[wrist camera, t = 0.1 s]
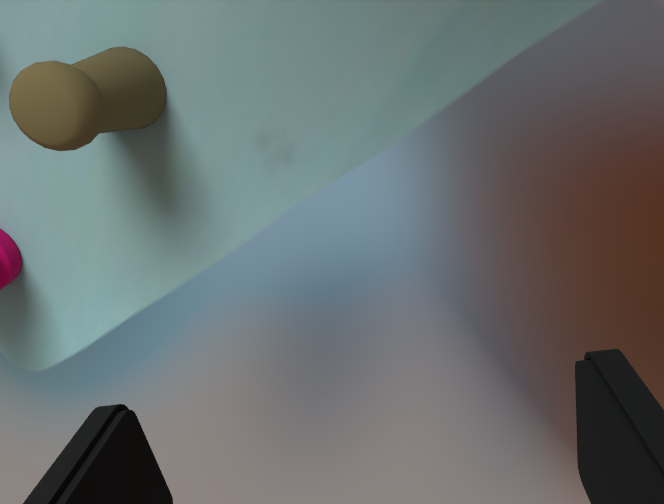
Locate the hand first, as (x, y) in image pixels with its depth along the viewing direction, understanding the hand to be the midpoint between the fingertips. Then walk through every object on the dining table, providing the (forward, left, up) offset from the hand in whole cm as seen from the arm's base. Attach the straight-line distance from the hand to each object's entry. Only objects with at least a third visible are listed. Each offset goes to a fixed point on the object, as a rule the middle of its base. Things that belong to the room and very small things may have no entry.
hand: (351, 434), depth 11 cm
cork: (-7, -18, -31) cm, 37 cm away
